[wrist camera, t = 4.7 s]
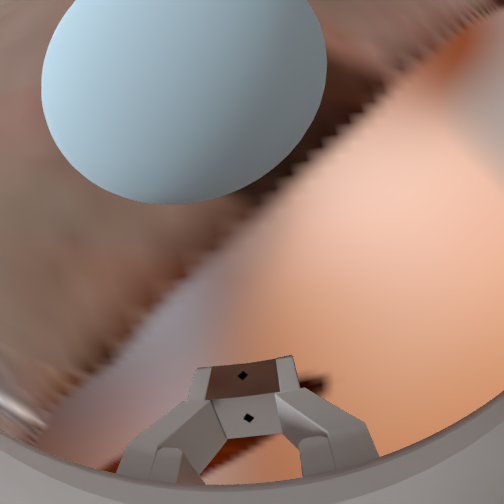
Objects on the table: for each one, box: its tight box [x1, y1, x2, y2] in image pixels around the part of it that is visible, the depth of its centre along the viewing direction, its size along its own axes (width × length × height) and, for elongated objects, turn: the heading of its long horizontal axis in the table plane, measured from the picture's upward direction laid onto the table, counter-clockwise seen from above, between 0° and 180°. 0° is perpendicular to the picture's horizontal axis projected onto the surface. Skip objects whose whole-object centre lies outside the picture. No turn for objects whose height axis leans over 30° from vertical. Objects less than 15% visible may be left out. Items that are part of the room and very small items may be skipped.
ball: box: [42, 0, 327, 204], centre depth 5 cm, size 6×6×6 cm
